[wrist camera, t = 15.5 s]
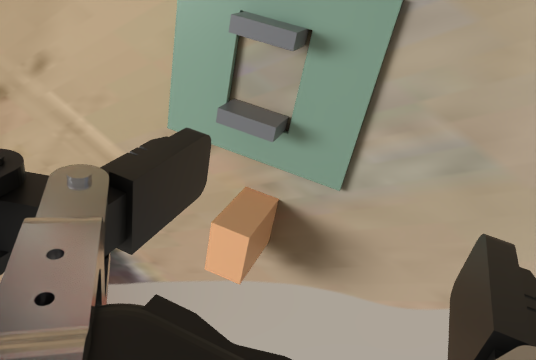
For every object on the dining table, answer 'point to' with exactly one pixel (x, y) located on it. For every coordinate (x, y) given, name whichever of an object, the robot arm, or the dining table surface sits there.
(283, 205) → the dining table surface
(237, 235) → the block
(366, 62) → the board
